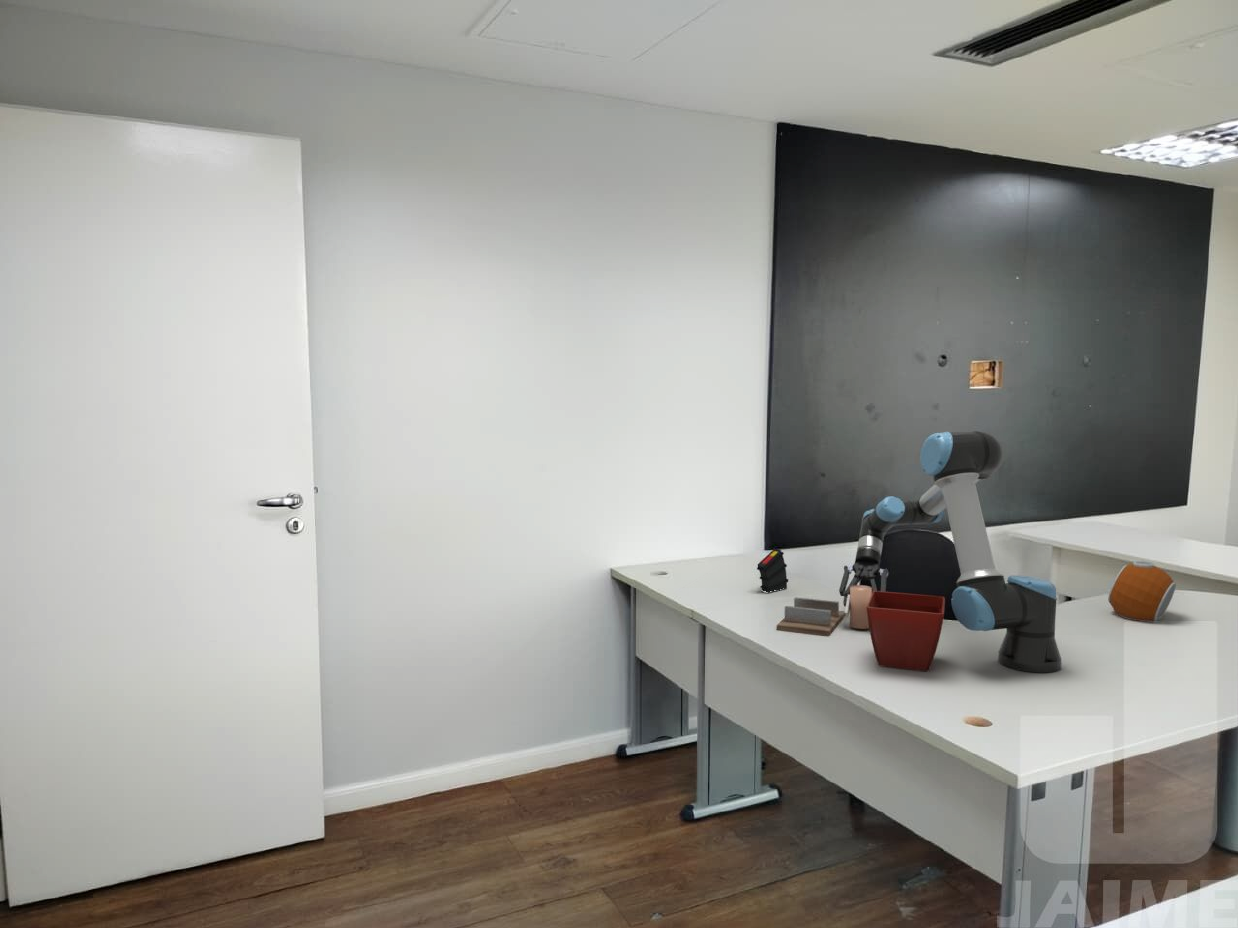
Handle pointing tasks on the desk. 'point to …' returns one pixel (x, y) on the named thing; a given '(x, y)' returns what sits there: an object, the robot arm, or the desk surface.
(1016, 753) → the desk surface
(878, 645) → the plant pot
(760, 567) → the magazine
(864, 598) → the peach pillar candle
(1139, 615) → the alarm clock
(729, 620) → the desk surface
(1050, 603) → the robot arm
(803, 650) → the desk surface
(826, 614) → the rack
